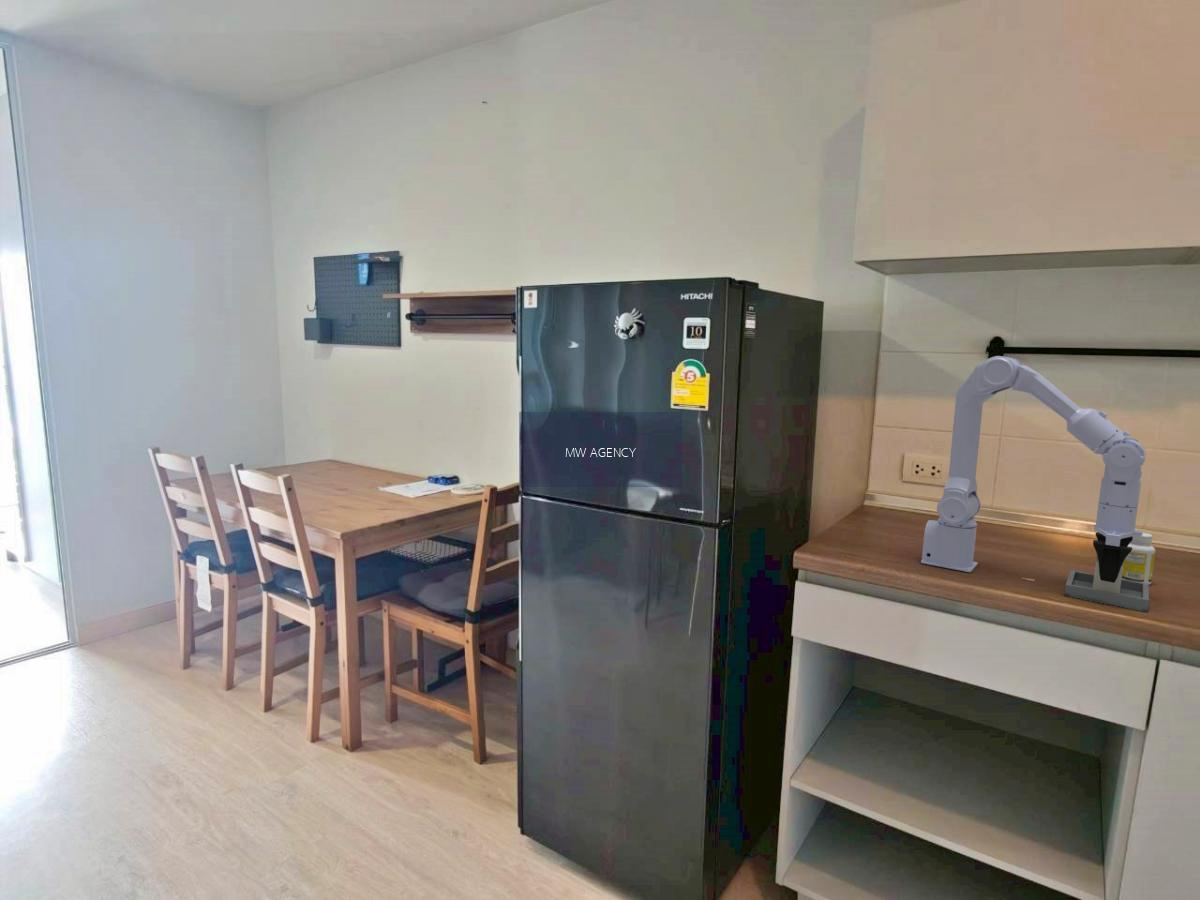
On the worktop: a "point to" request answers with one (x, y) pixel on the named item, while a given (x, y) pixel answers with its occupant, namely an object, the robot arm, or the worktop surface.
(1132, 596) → the tray
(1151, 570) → the supplement bottle
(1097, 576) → the light grey tall block
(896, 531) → the worktop surface
